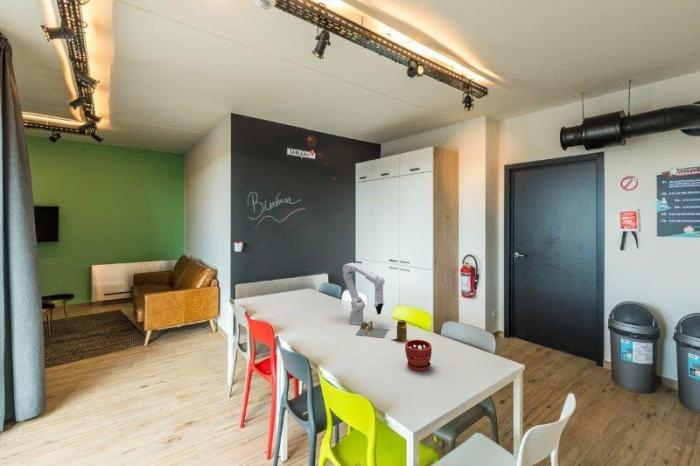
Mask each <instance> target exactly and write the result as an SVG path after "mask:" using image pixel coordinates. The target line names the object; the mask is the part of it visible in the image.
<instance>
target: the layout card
mask: <svg viewBox="0 0 700 466" xmlns="http://www.w3.org/2000/svg"><path fill="white" fill-rule="evenodd" d="M388 332H389V328H382V327H375V326H374V327H373V326H372V330H371V331H370V332H369V333H368V334H365V329H361V327H360V329H359V330H358V331H357V332H356V333H355V336H360V337H370V338H378V339H385V337H386V335H387V334H388Z"/></svg>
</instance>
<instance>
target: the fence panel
mask: <svg viewBox="0 0 700 466" xmlns="http://www.w3.org/2000/svg"><path fill="white" fill-rule="evenodd" d="M370 331H371V324H370V323H369V325H368V326H367V327H366V328H365V334H368V333H369V332H370Z"/></svg>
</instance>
